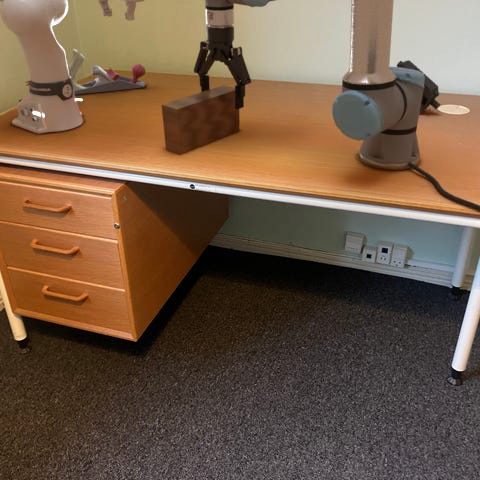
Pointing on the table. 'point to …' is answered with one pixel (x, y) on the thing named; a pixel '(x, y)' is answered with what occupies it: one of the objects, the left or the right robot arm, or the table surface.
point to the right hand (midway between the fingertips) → (222, 103)
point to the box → (200, 119)
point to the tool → (429, 88)
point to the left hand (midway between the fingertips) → (118, 18)
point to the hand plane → (104, 78)
